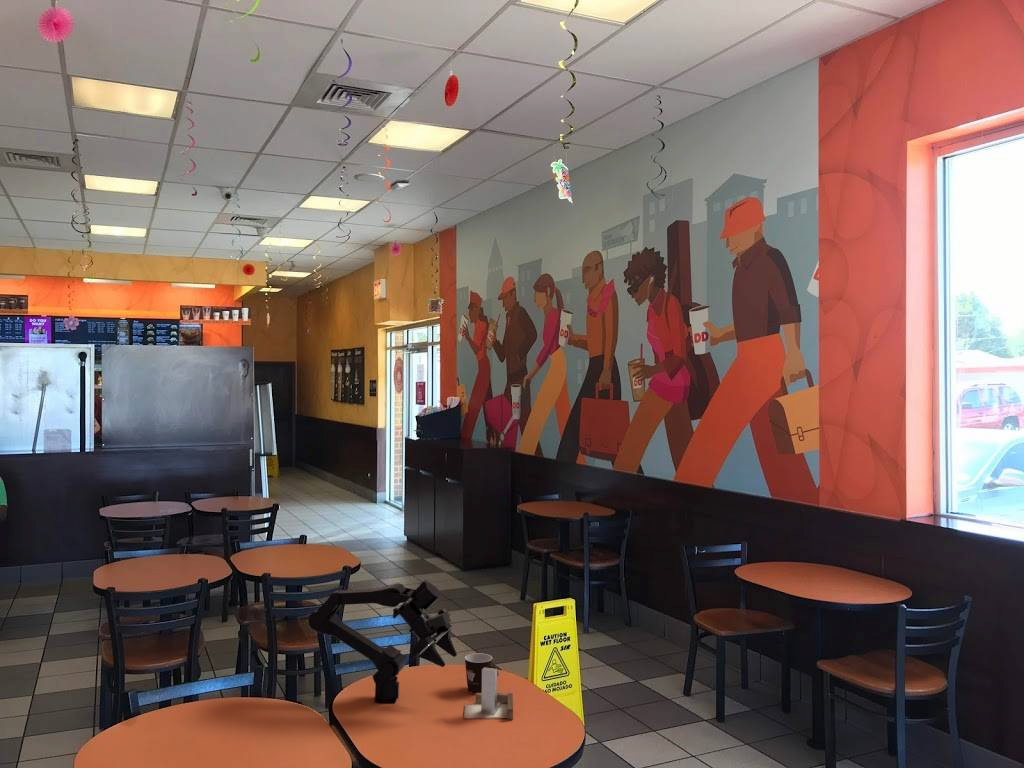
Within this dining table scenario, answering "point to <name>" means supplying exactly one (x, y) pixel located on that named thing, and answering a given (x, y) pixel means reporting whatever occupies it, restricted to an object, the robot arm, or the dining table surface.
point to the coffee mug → (476, 670)
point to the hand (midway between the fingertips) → (450, 660)
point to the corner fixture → (503, 712)
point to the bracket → (489, 691)
